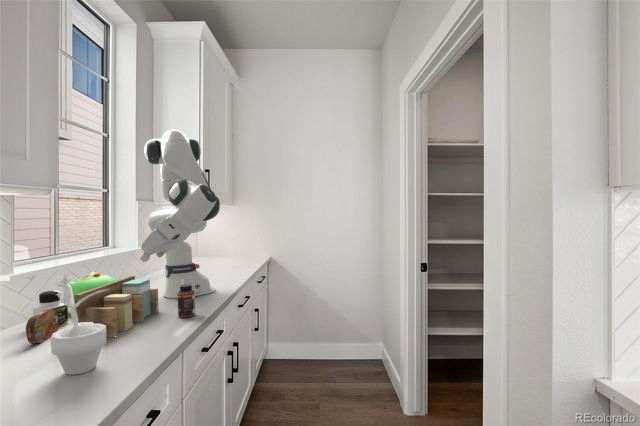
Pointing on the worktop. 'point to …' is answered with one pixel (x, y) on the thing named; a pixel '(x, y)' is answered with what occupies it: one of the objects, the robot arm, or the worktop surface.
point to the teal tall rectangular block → (139, 292)
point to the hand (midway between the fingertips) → (151, 258)
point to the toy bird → (89, 283)
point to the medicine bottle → (52, 305)
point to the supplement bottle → (186, 301)
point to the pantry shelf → (99, 314)
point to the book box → (121, 309)
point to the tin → (42, 326)
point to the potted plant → (77, 338)
